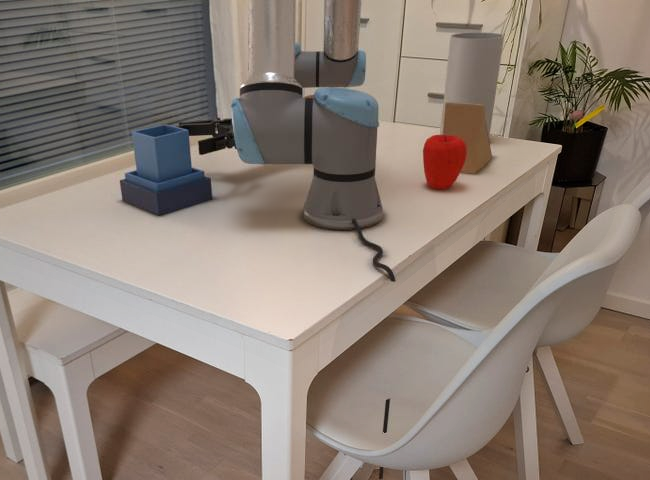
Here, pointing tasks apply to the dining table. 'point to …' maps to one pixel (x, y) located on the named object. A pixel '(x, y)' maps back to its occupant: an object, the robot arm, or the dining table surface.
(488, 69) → the cylinder vase
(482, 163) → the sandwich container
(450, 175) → the apple
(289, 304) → the dining table surface
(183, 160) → the lone bin
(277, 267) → the dining table surface
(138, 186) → the bin stack
